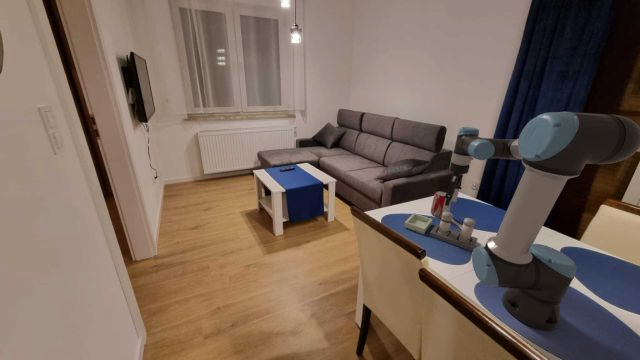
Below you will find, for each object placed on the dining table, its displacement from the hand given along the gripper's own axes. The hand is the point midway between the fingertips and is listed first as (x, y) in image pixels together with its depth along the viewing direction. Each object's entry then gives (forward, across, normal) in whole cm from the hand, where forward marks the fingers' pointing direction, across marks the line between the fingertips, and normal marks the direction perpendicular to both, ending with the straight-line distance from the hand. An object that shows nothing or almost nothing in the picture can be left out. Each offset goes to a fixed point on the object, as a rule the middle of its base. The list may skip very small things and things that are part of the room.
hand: (449, 205), depth 122 cm
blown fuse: (+16, 0, 0) cm, 16 cm away
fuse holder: (+16, 0, -5) cm, 17 cm away
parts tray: (+16, 0, +12) cm, 20 cm away
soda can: (+16, +20, +8) cm, 27 cm away
